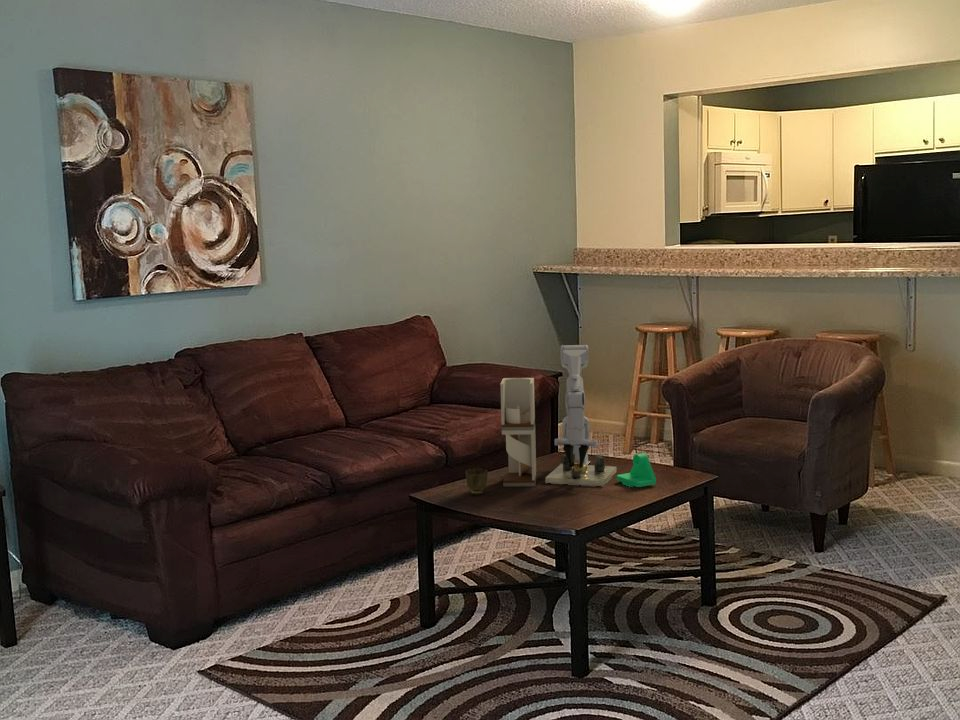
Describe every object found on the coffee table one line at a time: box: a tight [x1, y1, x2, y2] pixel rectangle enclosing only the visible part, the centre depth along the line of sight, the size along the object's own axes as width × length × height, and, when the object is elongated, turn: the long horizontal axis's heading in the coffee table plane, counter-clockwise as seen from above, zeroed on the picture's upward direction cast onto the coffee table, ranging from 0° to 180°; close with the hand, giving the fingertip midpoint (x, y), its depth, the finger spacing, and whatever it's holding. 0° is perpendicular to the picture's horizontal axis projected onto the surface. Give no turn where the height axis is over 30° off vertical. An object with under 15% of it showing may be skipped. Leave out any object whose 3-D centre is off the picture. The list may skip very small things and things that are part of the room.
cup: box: [464, 467, 489, 496], centre depth 348 cm, size 8×7×8 cm
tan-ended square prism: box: [571, 460, 582, 478], centre depth 358 cm, size 5×4×5 cm
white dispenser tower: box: [499, 377, 537, 487], centre depth 360 cm, size 11×11×35 cm
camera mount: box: [616, 452, 657, 488], centre depth 354 cm, size 12×8×10 cm, turn 30°
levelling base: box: [544, 454, 618, 488], centre depth 365 cm, size 20×20×7 cm
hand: (576, 466), depth 358 cm, fingers closed on tan-ended square prism, 3 cm apart
